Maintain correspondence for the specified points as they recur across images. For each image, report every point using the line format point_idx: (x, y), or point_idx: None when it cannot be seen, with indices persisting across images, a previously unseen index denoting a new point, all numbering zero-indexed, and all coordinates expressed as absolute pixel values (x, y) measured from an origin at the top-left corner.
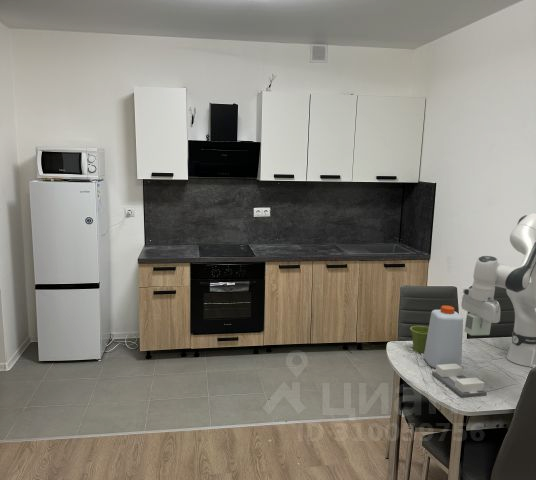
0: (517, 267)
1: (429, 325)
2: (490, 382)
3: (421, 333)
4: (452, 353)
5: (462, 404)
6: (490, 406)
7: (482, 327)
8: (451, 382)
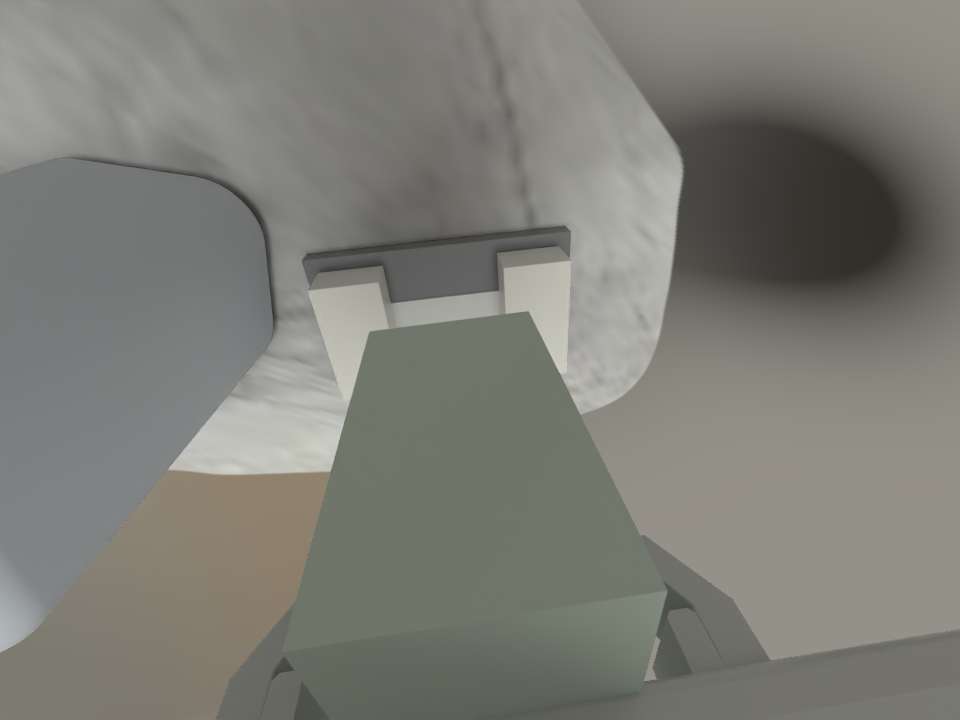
0: None
1: None
2: (421, 90)
3: None
4: (225, 305)
5: (606, 367)
6: (652, 266)
7: None
8: None
